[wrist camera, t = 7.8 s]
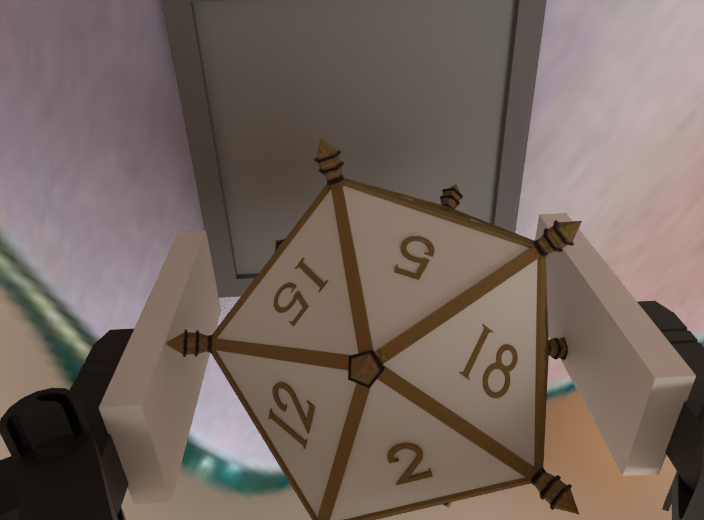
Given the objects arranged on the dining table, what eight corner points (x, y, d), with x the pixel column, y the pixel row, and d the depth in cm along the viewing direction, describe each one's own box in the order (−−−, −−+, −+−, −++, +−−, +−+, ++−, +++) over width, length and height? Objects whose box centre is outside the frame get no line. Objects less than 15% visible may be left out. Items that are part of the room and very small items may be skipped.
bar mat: (163, -31, 21) (156, -29, 20) (543, -46, 21) (552, -44, 20) (221, 285, 28) (218, 297, 27) (502, 272, 28) (508, 283, 28)
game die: (429, 189, 20) (723, 372, 14) (278, 384, 20) (501, 645, 14) (269, 8, 12) (747, 227, 6) (39, 318, 13) (288, 799, 7)
